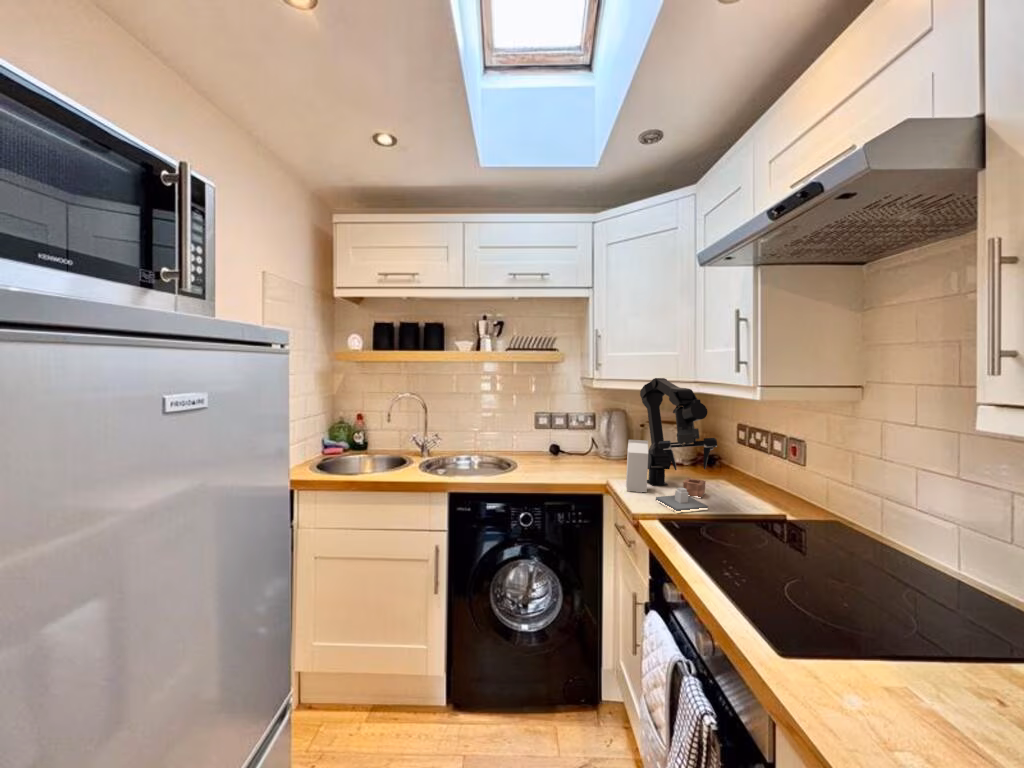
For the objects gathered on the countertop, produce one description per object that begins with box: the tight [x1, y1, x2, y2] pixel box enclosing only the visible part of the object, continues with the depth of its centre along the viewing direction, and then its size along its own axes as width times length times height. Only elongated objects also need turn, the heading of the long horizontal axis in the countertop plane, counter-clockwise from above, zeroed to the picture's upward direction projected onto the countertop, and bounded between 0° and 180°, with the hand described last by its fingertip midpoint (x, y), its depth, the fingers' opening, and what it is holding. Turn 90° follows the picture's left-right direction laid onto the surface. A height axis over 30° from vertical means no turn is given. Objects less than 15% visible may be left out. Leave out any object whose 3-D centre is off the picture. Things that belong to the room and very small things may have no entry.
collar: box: [682, 477, 706, 498], centre depth 169 cm, size 6×6×5 cm
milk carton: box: [625, 439, 649, 493], centre depth 173 cm, size 7×7×19 cm
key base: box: [655, 486, 709, 511], centre depth 157 cm, size 12×12×6 cm
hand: (690, 469), depth 156 cm, fingers open, 9 cm apart
